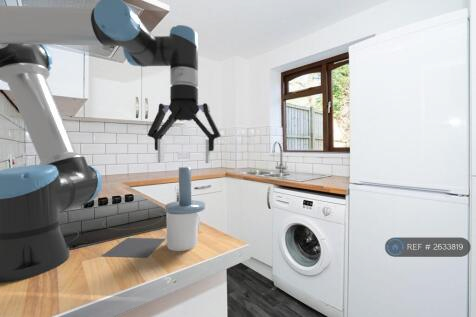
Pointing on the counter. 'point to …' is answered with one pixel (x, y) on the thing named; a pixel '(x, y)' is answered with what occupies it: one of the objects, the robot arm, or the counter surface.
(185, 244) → the mug
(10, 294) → the counter surface
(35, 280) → the counter surface
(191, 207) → the lid
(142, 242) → the mat
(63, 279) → the counter surface
